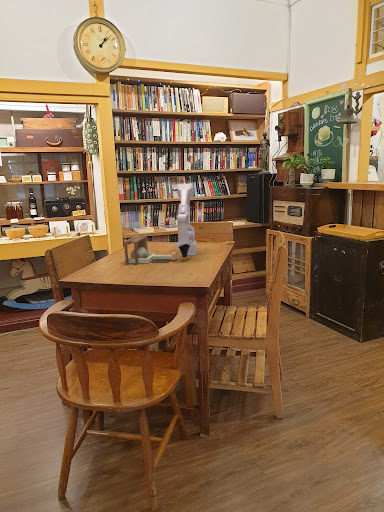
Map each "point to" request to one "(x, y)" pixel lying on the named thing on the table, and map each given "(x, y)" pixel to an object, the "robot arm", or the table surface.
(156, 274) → the table surface
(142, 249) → the ceramic mug
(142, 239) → the arch
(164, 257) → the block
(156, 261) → the pit
